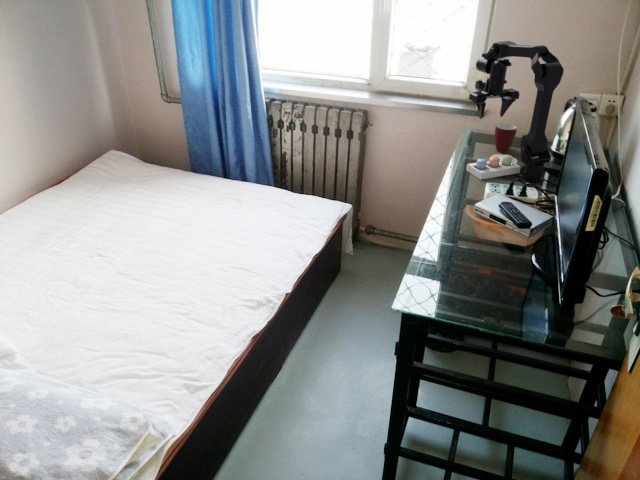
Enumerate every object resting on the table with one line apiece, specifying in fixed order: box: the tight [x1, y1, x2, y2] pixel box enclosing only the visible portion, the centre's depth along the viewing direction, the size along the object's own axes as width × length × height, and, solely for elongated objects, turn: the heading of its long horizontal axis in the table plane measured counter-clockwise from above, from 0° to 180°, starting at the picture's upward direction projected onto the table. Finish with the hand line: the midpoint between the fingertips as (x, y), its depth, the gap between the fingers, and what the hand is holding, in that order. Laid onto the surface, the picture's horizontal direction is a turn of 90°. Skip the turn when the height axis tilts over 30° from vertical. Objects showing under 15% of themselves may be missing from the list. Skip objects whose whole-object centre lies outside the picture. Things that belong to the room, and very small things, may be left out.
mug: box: [494, 123, 518, 153], centre depth 209 cm, size 10×8×10 cm
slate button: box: [475, 158, 488, 170], centre depth 189 cm, size 4×4×3 cm
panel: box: [465, 160, 521, 180], centre depth 192 cm, size 9×17×2 cm, turn 110°
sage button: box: [501, 154, 513, 166], centre depth 192 cm, size 4×4×3 cm
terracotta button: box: [488, 156, 501, 168], centre depth 190 cm, size 4×4×3 cm
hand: (490, 117), depth 202 cm, fingers open, 9 cm apart
